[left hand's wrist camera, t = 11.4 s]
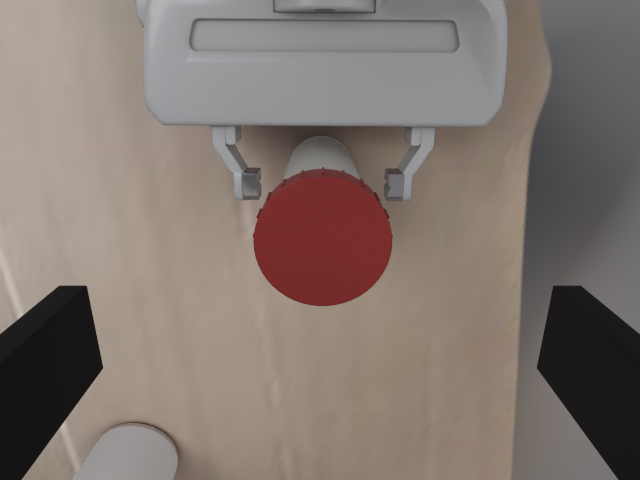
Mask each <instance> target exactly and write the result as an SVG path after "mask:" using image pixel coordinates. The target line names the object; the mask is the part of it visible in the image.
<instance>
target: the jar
mask: <svg viewBox="0 0 640 480" xmlns="http://www.w3.org/2000/svg"><path fill="white" fill-rule="evenodd" d="M322 167H324V169H333V170H338V171H342V170H344V171H345V173H348V174H350V175H352V176H354V177H356V178H358V179H359V180H360V177H359V174H358V172H357V169H356V167H355V164H354V162H353V159H352V156H351V154H350V152H349V150H348V149H347V148H346V146H345V145H344V144H342V143H341V142H340V141H338V140H337V139H335V138H332V137H329V136H313V137H310V138H307V139H305V140H304V141H302V142H301V143H300V144H298V146H297V147H296V148H295V149H294V150H293V152H292V154H291V157H290V159H289V162H288V165H287V168H286V171H285V174H284V177H283V179H288V178H290V177H291V176H293V175H296V174H298V173H300V172H301V170H304V171H307V170H313V169H322ZM282 182H283V180H282Z"/></svg>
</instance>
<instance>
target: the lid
mask: <svg viewBox="0 0 640 480" xmlns="http://www.w3.org/2000/svg"><path fill="white" fill-rule="evenodd" d="M257 218H258V221H257V223H256V227H255V232H254V234H253V237H254V251H255V256H256V259H257V262H258V265H259V267H260V269H261V271H262V273H263V274H264V276H265V277H266V279H267V280H268V281H269V282H270V283H271V285H272V286H273V287H274V288H276V289H277V290H278V291H279V292H281V293H282V294H284V295H285V296H287V297H289V298H291V299H293V300H295V301H298V302H301V303H304V304H308V305H315V306H330V305H337V304H341V303H345V302H348V301H350V300H353V299H355V298H357V297H359V296H360V295H362V294H363V293H365V292H366V291H368V290H369V289H370V288H371V287H372V286H373V285H374V284H375V283H376V282H377V281H378V280H379V278H380V277H381V275H382V274H383V272H384V270H385V268H386V266H387V264H388V261H389V258H390V254H391V249H392V238H393V237H392V233H391V228H390V223H389V221H388V219H389V216H388V214H387V212H386V210H385V209H383V207H382V205H381V203H380V199H379V197H378V195H377V193H376V192H375V193H374V192H373V191H372V190H371V189H370V188H369V187H368V186H367V185H366V184H365V183H364V182H363V180H362V179H360V180H359V179H358V178H356V177H354V176H352V175H350V174H348V173H345V171H344V170H342V171H338V170H333V169H324V167H322V169H313V170H307V171H304V170H301V172H300V173H298V174H296V175H293V176H291V177H290V178H288V179H283V182H282V183H281V184H280V185H278V186H277V187H276V188H275V189H274V190H273V191H272V193H271V192H269V194H268V197H267V199H266V202H265V204H264V206H263V208H262V209H261V208H260V210H259V213H258V215H257Z"/></svg>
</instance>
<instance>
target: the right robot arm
mask: <svg viewBox="0 0 640 480" xmlns="http://www.w3.org/2000/svg"><path fill="white" fill-rule="evenodd" d="M135 2H136V10H137V14H138V18H139V20H140V23H141V24H142V26H143V28H144V38H143V79H144V95H145V103H146V107H147V109H148V110H149V111H150V112H151V114H152V115H153V116H154V117H155V118H156V119H157V120H158V121H159V122H160V123H161V124H163V125H211V132H212V145H213V147H214V148H215V150H216V151H217V153H218V154H219V156H220V157H221V159H222V160H223V162H224V163H225V165H226V166H227V168H228V169H229V171H230V172H231V173H233V178H234V194H235V199H236V200H259V199H260V197H261V184H260V182H259V181H260V179H261V168H248V166H247V164H246V163H245V161H244V159H243V158H242V156H241V154H240V153H239V151H238V149H237V148H236V146H235V143H237V142H238V141H239V140H240V139H241V126H396V127H405V140H406V141H407V142H408V143H410V144H411V147H410V148H409V150H408V152H407V153H406V155H405V156H404V158H403V160H402V161H401V163H400V164H399V166H398V168H392V169H385V177H384V179H385V180H386V183H385V185H384V197H385V198H386V201H410V198H411V189H412V177H413V174H415V173H416V172H417V170H418V169H419V167H420V166H421V164H422V163H423V161H424V160H425V159H426V157H427V156H428V154H429V153H430V151H431V150H432V148H433V147H434V139H435V129H436V127H484V126H486V125H487V124H488V123H489V122H490V121H491V120H492V119H493V118H494V117H495V116H496V114H497V113H498V112H499V111H500V109H501V107H502V103H503V98H504V91H505V83H506V73H507V57H508V16H507V10H506V5H505V2H504V0H135Z"/></svg>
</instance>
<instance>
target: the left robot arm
mask: <svg viewBox="0 0 640 480" xmlns="http://www.w3.org/2000/svg"><path fill="white" fill-rule="evenodd" d="M102 369H103V365H102V360H101V355H100V350H99V345H98V340H97V335H96V330H95V325H94V320H93V315H92V310H91V305H90V300H89V295H88V290H87V286H58V287H57V288H56V289H55V290H54V291H52V292H51V293H50V294H49V295H47V296H46V297H45V298H44V299H43V300H41V301H40V302H39V303H38V304H37V305H35V306H34V307H33V308H32V309H30V310H29V311H28V312H27V313H26V314H24V315H23V316H22V317H21V318H20V319H18V320H17V321H16V322H15V323H13V324H12V325H11V326H10V327H9V328H7V329H6V330H5V331H4V332H2V333H1V334H0V480H22V478H23V477H24V476H25V474H26V473H27V471H28V470H29V469H30V467H31V466H32V465H33V463H34V462H35V461H36V459H37V458H38V456H39V455H40V454H41V452H42V451H43V450H44V448H45V447H46V445H47V444H48V443H49V441H50V440H51V439H52V437H53V436H54V435H55V433H56V432H57V430H58V429H59V428H60V426H61V425H62V424H63V422H64V421H65V419H66V418H67V417H68V415H69V414H70V413H71V411H72V410H73V409H74V407H75V406H76V404H77V403H78V402H79V400H80V399H81V398H82V396H83V395H84V394H85V392H86V391H87V389H88V388H89V387H90V385H91V384H92V383H93V381H94V380H95V378H96V377H97V376H98V374H99V373H100V372H101V370H102ZM537 369H538V370H539V372H540V373H541V374H542V376H543V377H544V378H545V380H546V381H547V383H548V384H549V385H550V387H551V388H552V389H553V391H554V392H555V393H556V395H557V396H558V398H559V399H560V400H561V402H562V403H563V404H564V406H565V407H566V408H567V410H568V411H569V412H570V414H571V415H572V417H573V418H574V419H575V421H576V422H577V424H578V425H579V426H580V428H581V429H582V430H583V432H584V433H585V435H586V436H587V437H588V439H589V440H590V441H591V443H592V444H593V445H594V447H595V448H596V450H597V451H598V452H599V454H600V455H601V456H602V458H603V459H604V460H605V462H606V463H607V465H608V466H609V467H610V469H611V470H612V471H613V473H614V474H615V476H616V477H617V478H618V480H640V334H639V333H638V332H636V331H635V330H634V329H633V328H631V327H630V326H629V325H628V324H627V323H625V322H624V321H623V320H622V319H620V318H619V317H618V316H617V315H616V314H614V313H613V312H612V311H611V310H610V309H608V308H607V307H606V306H605V305H603V304H602V303H601V302H600V301H599V300H597V299H596V298H595V297H594V296H593V295H591V294H590V293H589V292H588V291H586V290H585V289H584V288H583V287H582V286H553V290H552V295H551V300H550V305H549V310H548V315H547V320H546V325H545V330H544V335H543V340H542V345H541V350H540V355H539V360H538V365H537Z"/></svg>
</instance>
